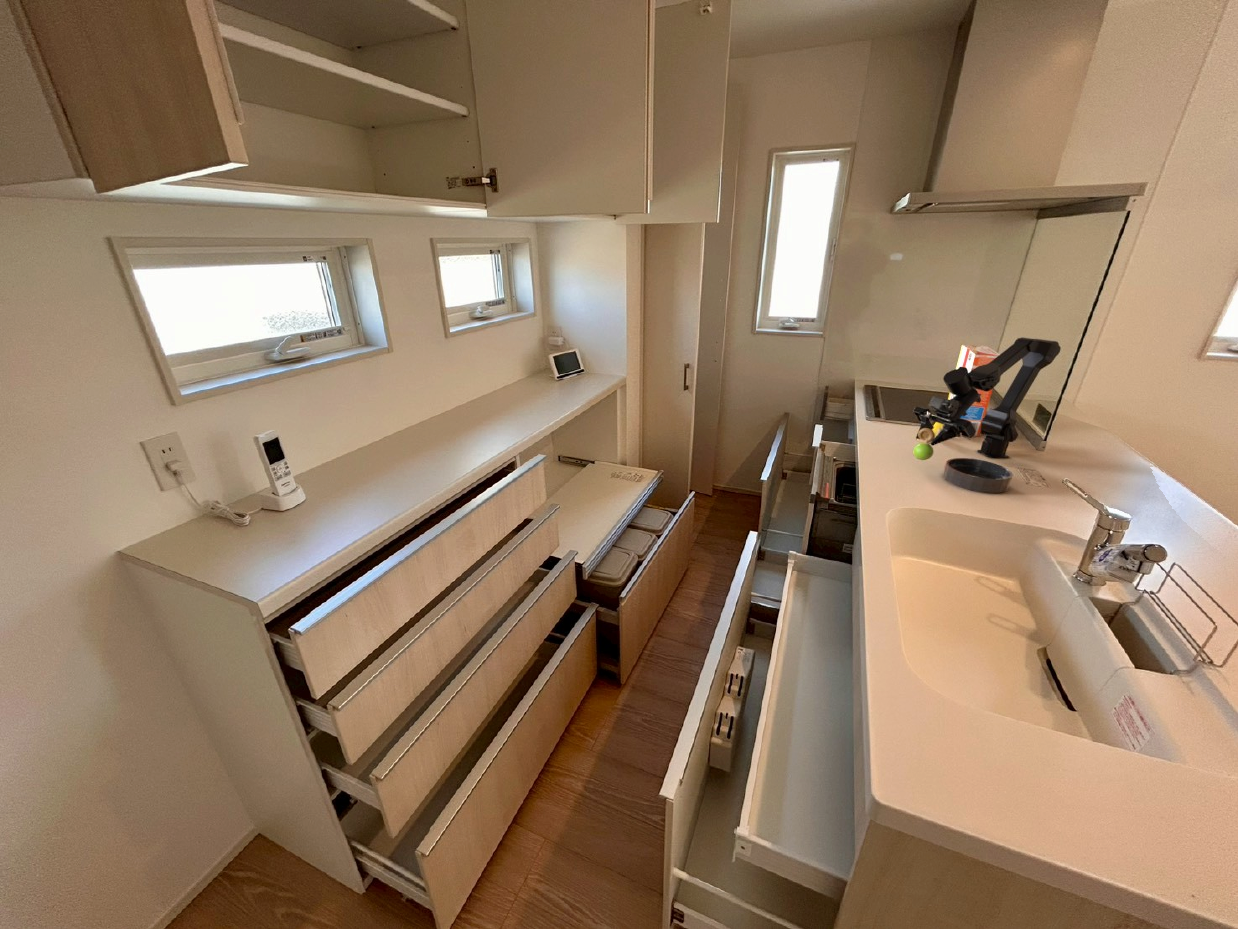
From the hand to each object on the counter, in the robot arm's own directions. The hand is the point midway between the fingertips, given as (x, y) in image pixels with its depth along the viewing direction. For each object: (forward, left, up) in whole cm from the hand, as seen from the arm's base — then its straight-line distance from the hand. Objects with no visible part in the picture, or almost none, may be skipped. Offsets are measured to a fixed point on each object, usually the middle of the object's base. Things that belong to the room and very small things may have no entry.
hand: (923, 441), depth 155 cm
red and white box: (-42, -39, -9) cm, 58 cm away
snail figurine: (-1, 0, -6) cm, 7 cm away
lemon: (-24, -25, -9) cm, 36 cm away
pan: (-10, +12, -9) cm, 18 cm away
